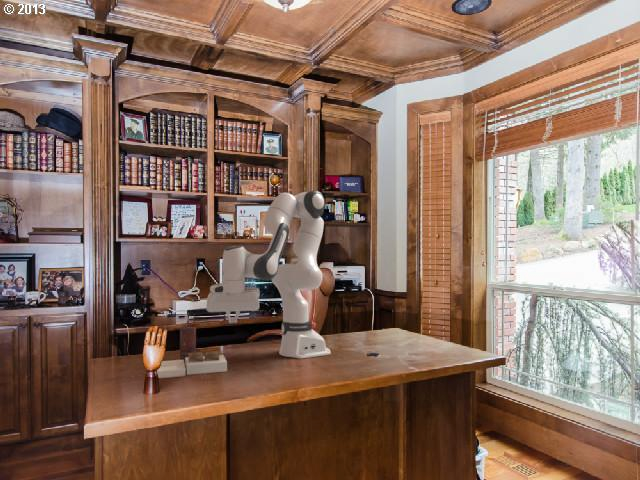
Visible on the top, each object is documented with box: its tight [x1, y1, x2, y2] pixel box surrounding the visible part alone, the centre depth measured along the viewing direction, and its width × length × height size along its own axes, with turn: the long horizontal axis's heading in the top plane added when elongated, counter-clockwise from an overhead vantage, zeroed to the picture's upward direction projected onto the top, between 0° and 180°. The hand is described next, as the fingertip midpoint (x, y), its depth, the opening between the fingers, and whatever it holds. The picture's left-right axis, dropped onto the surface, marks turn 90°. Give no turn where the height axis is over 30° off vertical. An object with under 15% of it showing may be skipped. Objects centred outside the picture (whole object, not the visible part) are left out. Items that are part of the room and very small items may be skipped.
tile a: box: [204, 350, 220, 361], centre depth 170 cm, size 5×4×2 cm
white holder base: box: [184, 354, 228, 376], centre depth 169 cm, size 14×11×4 cm
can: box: [179, 325, 197, 364], centre depth 179 cm, size 6×6×14 cm
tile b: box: [188, 351, 204, 362], centre depth 168 cm, size 5×4×2 cm
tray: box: [157, 359, 186, 379], centre depth 165 cm, size 10×14×2 cm
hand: (232, 322), depth 172 cm, fingers closed
